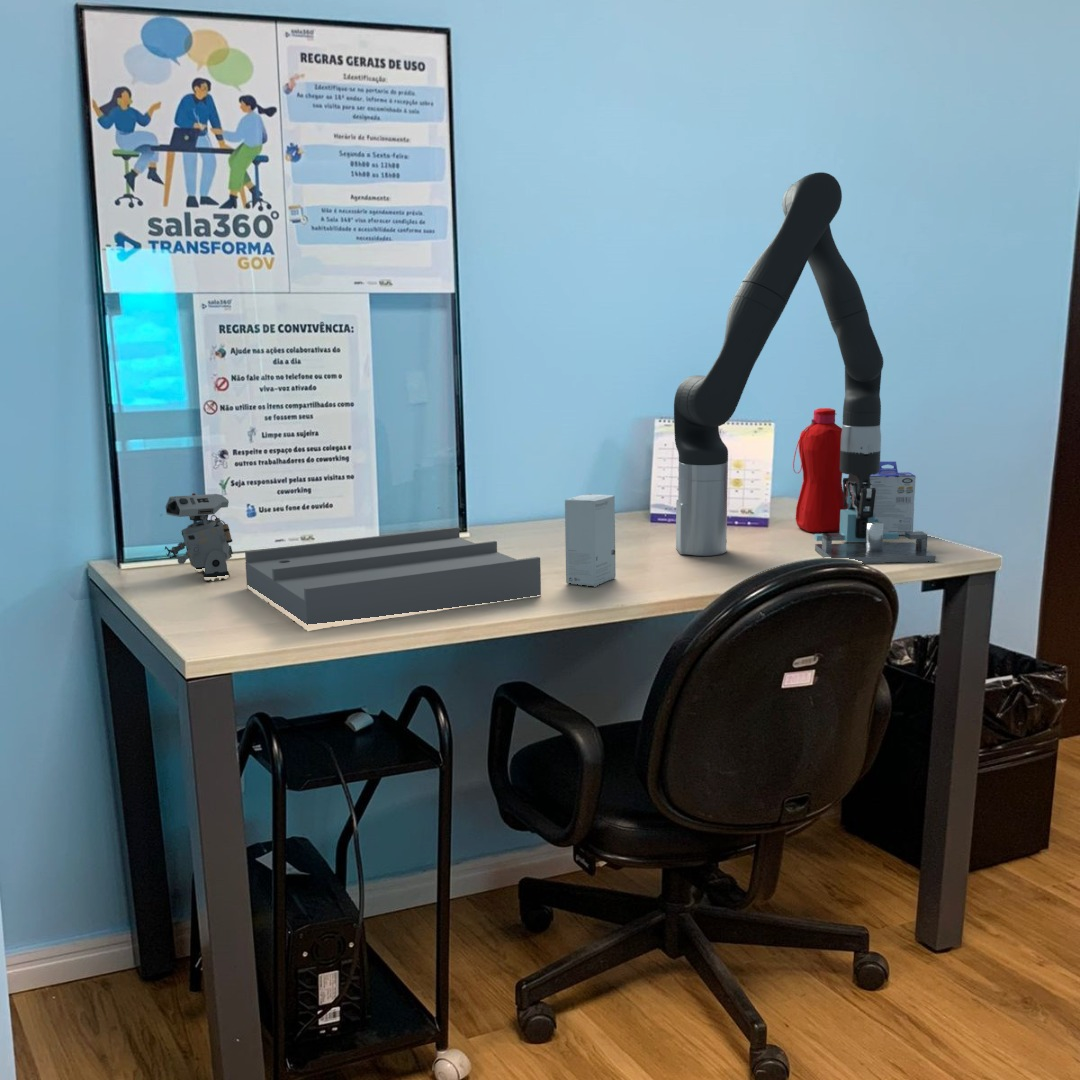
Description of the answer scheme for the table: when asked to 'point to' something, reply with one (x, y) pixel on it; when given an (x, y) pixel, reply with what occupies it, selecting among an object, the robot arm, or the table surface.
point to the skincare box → (590, 539)
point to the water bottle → (820, 474)
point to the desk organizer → (389, 575)
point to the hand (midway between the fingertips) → (856, 534)
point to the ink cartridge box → (894, 499)
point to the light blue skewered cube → (854, 527)
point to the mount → (877, 547)
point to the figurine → (202, 533)
